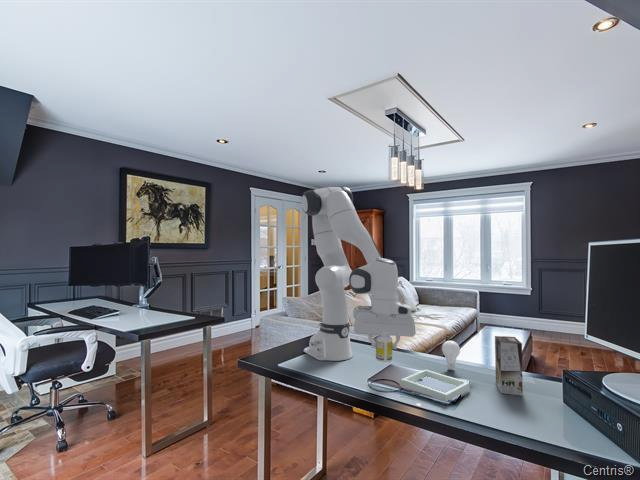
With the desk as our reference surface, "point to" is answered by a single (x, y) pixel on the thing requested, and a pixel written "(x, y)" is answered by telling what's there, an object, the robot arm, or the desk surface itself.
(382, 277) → the robot arm
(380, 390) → the socket ring
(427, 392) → the tray
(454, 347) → the lightbulb
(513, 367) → the coffee box
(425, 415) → the desk surface
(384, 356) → the supplement bottle
